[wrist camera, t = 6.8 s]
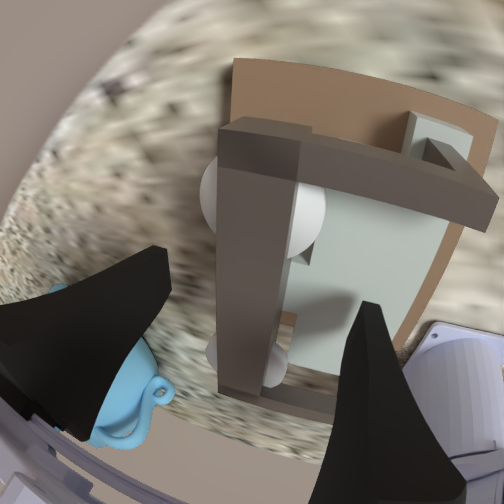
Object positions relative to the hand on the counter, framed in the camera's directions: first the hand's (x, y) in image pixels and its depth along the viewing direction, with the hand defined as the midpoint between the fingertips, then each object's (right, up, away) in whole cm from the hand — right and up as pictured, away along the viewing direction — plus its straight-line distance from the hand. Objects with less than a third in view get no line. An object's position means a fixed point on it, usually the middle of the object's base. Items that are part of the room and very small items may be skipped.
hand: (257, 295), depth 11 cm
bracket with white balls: (+3, +2, +3) cm, 4 cm away
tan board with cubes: (+5, +3, +5) cm, 7 cm away
